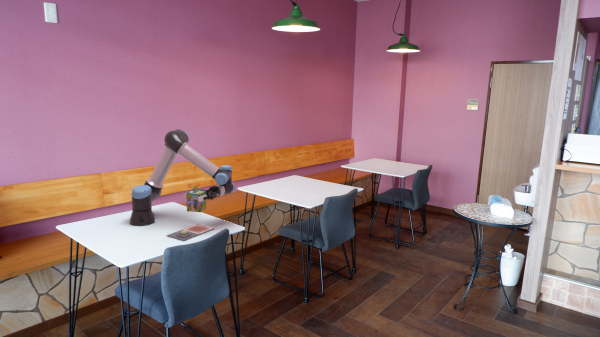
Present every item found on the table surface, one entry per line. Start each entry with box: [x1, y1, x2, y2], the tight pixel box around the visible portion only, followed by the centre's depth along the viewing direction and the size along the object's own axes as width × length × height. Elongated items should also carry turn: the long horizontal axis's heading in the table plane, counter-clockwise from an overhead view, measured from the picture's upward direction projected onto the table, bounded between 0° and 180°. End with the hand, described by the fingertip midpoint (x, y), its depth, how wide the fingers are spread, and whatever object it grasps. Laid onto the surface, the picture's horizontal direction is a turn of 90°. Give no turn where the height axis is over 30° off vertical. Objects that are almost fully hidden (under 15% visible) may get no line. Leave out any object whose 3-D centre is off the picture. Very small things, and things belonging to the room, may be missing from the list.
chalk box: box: [185, 185, 207, 213], centre depth 241 cm, size 9×9×15 cm
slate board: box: [166, 223, 215, 242], centre depth 240 cm, size 14×26×2 cm, turn 151°
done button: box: [179, 229, 187, 235], centre depth 232 cm, size 4×4×2 cm
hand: (191, 198), depth 238 cm, fingers closed on chalk box, 11 cm apart
